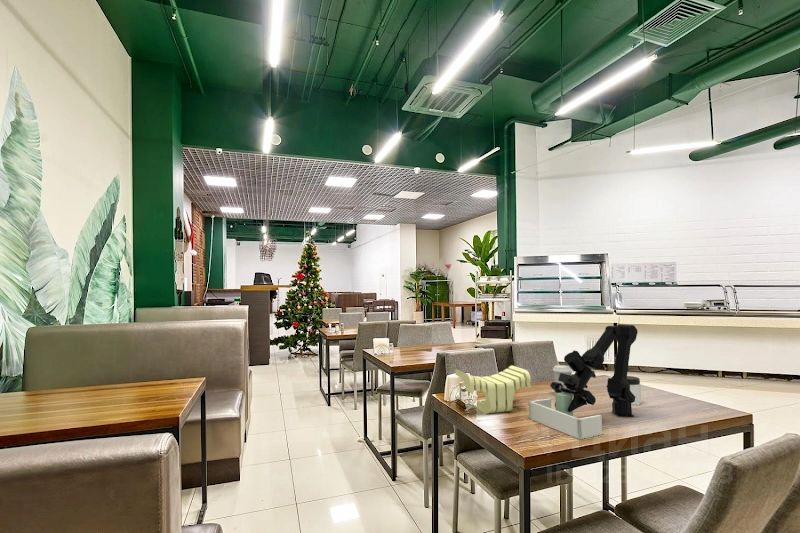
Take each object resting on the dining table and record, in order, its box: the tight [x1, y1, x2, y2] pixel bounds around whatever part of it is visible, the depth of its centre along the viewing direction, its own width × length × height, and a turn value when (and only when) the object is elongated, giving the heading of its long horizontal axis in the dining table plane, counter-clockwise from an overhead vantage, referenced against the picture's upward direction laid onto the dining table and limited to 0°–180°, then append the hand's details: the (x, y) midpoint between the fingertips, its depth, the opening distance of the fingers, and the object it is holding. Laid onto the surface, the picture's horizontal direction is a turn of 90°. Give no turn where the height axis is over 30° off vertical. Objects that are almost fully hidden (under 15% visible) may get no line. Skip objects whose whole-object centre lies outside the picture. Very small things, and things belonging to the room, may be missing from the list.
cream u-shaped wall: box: [528, 398, 603, 440], centre depth 152 cm, size 12×26×7 cm, turn 23°
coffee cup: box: [552, 364, 574, 388], centre depth 197 cm, size 10×10×15 cm
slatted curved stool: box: [455, 365, 532, 414], centre depth 176 cm, size 30×16×18 cm, turn 105°
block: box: [554, 392, 574, 417], centre depth 153 cm, size 4×4×12 cm
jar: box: [627, 375, 643, 406], centre depth 184 cm, size 9×8×12 cm
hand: (561, 409), depth 152 cm, fingers open, 6 cm apart
